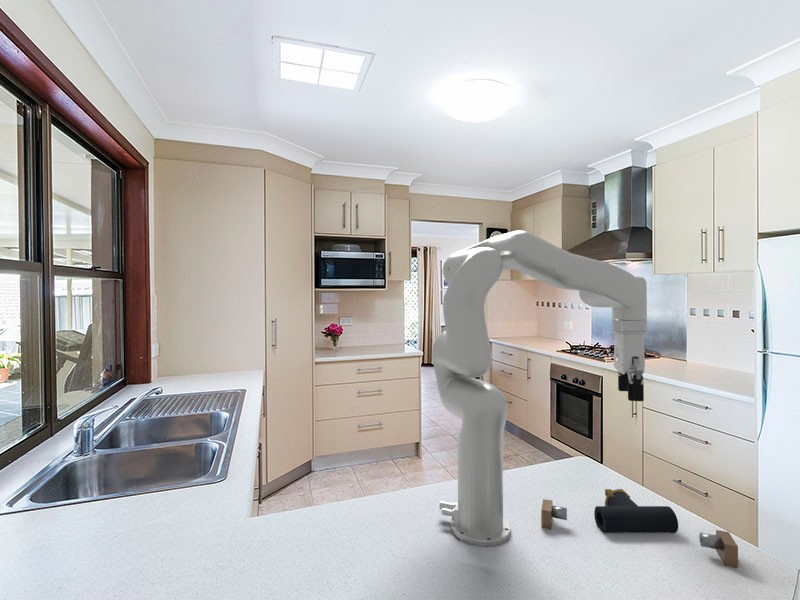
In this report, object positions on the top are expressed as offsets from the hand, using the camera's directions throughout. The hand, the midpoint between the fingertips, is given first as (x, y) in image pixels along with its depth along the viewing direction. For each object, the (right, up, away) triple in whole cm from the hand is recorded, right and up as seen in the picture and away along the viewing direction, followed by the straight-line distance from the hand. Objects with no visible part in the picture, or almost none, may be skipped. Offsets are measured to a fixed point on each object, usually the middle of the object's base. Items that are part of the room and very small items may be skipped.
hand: (630, 395), depth 102 cm
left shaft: (-23, -25, -12) cm, 37 cm away
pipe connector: (-7, -26, -11) cm, 29 cm away
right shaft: (+3, -25, -24) cm, 35 cm away
